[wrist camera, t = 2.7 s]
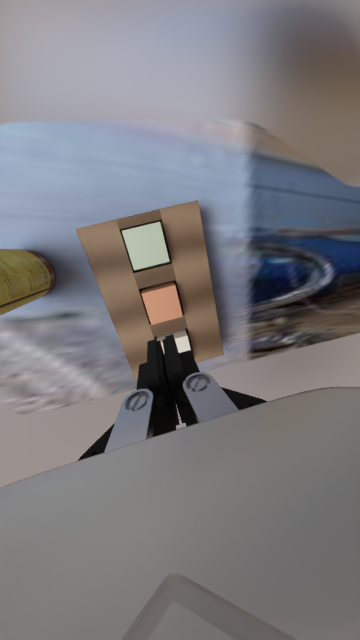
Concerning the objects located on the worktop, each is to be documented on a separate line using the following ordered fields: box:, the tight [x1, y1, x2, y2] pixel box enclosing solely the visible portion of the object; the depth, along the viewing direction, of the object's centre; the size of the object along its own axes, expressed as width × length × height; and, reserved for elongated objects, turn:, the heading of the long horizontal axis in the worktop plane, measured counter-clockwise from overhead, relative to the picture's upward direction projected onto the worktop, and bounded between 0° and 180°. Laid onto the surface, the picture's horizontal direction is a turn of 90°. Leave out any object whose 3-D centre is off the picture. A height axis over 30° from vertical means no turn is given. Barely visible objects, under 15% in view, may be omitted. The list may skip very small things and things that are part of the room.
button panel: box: [76, 200, 224, 379], centre depth 26 cm, size 21×14×4 cm, turn 13°
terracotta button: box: [142, 282, 183, 325], centre depth 24 cm, size 4×4×3 cm
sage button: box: [122, 222, 170, 270], centre depth 22 cm, size 4×4×3 cm
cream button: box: [157, 329, 191, 353], centre depth 27 cm, size 4×4×3 cm
